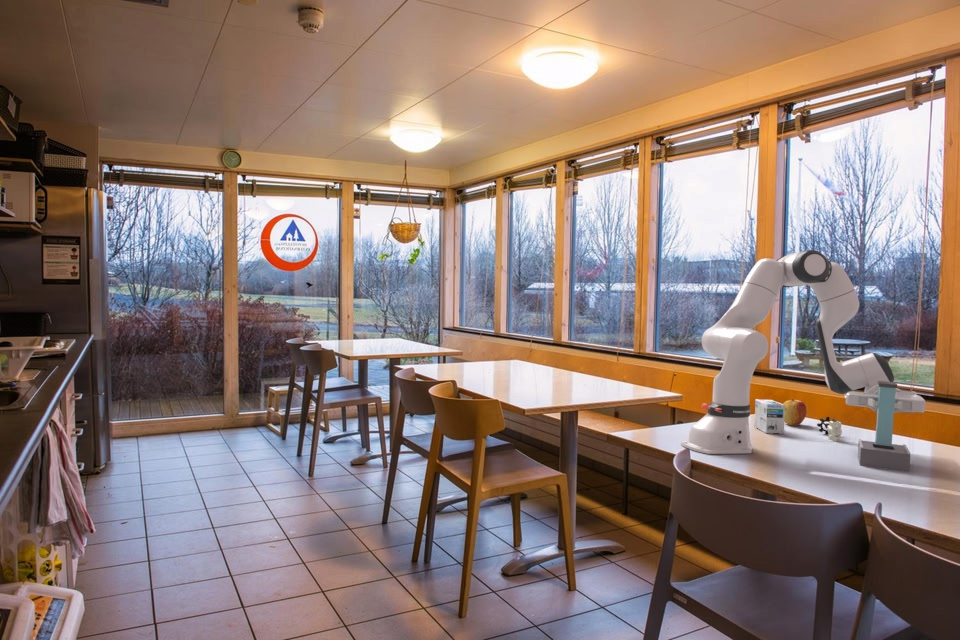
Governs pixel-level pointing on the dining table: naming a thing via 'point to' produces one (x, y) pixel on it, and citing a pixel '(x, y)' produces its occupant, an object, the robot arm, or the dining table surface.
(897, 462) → the grey socket base
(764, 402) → the light bulb box
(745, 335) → the robot arm
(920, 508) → the dining table surface
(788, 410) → the apple
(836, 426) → the valve
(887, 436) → the plug
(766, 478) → the dining table surface
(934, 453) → the dining table surface
